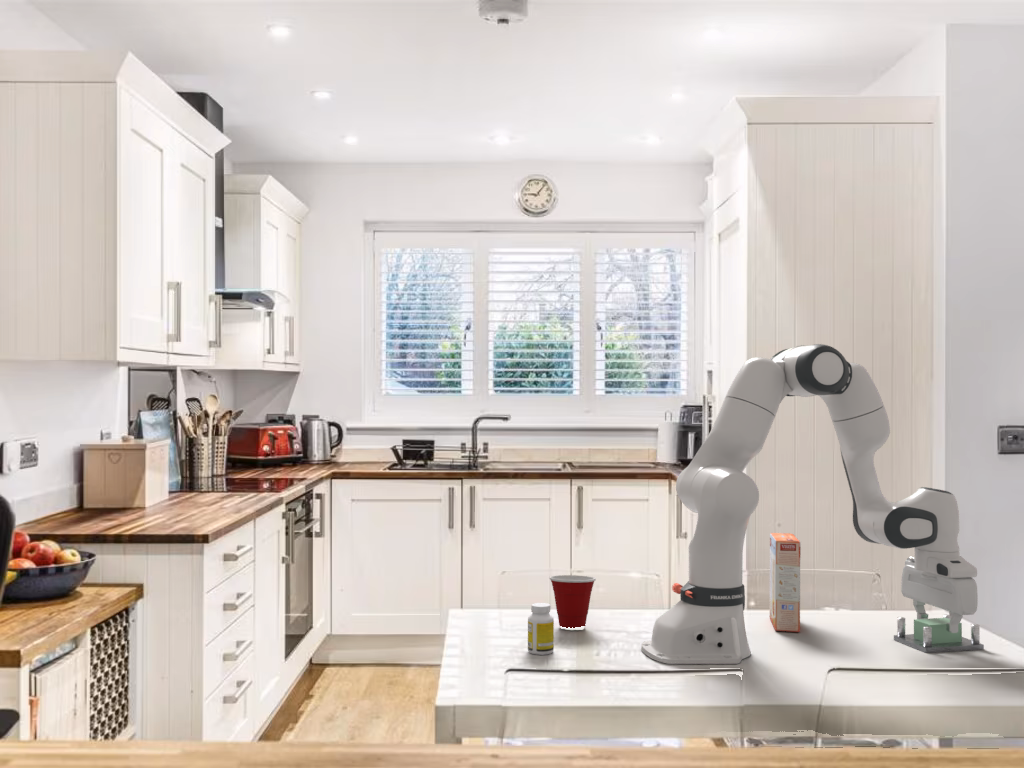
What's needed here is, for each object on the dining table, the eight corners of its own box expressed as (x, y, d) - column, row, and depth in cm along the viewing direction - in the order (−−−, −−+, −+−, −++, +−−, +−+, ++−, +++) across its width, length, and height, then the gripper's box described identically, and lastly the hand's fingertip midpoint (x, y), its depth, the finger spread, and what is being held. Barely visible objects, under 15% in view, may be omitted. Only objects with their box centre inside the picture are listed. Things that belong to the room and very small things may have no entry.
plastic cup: (597, 623, 208) (597, 572, 208) (594, 634, 197) (594, 581, 197) (551, 621, 209) (551, 570, 210) (546, 632, 198) (546, 579, 199)
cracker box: (801, 633, 199) (801, 541, 200) (774, 632, 200) (773, 540, 201) (794, 619, 213) (794, 532, 213) (769, 617, 214) (768, 531, 215)
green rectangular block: (929, 643, 187) (929, 625, 187) (913, 637, 192) (913, 619, 192) (961, 641, 188) (961, 623, 189) (945, 635, 193) (945, 617, 193)
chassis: (925, 652, 183) (925, 628, 184) (893, 639, 194) (893, 617, 194) (983, 649, 186) (983, 625, 186) (949, 636, 197) (948, 614, 197)
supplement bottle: (558, 650, 184) (558, 603, 184) (545, 657, 179) (545, 608, 179) (536, 647, 187) (536, 600, 187) (522, 652, 182) (522, 605, 182)
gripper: (893, 555, 200) (893, 616, 200) (956, 571, 180) (957, 639, 180) (918, 554, 201) (918, 615, 201) (983, 570, 181) (983, 637, 181)
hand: (937, 626), depth 190 cm, fingers open, 8 cm apart
